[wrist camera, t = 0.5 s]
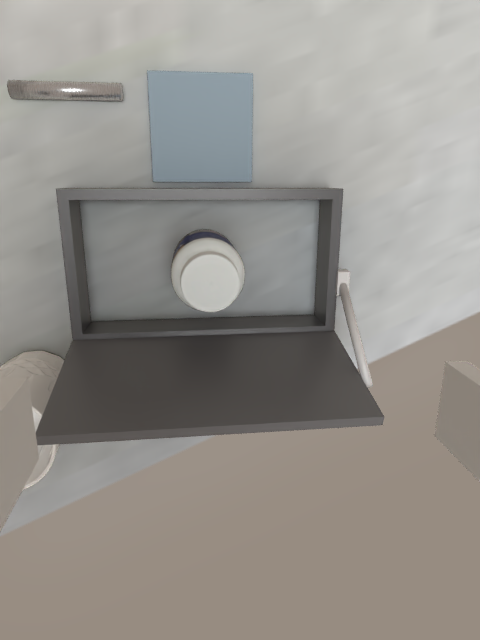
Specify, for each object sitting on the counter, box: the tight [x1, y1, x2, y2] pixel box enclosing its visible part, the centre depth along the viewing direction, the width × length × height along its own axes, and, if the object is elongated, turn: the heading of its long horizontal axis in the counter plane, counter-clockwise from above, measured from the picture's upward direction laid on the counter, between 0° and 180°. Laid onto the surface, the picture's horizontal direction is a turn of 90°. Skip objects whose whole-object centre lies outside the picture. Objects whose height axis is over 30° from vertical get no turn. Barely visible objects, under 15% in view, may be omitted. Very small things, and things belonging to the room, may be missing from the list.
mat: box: [147, 71, 253, 182], centre depth 36 cm, size 8×8×1 cm
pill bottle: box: [171, 230, 245, 312], centre depth 35 cm, size 5×5×10 cm
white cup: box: [0, 351, 64, 490], centre depth 36 cm, size 8×8×10 cm
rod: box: [7, 80, 123, 101], centre depth 34 cm, size 8×1×1 cm, turn 90°
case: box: [36, 188, 384, 446], centre depth 33 cm, size 22×15×14 cm, turn 90°
